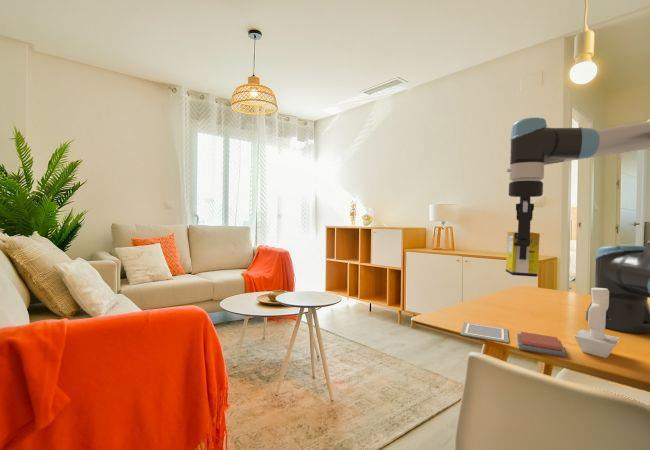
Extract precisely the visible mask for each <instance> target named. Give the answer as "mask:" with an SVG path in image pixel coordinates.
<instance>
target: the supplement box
mask: <svg viewBox="0 0 650 450" xmlns="http://www.w3.org/2000/svg"><path fill="white" fill-rule="evenodd" d="M540 238H541V234H540V233H538V232H537V233H536V232H531V231H530V245H529V247H530V248H529V270H528V273H520V272H516V254H517V246H514V243H517V240H518V231H507V236H506V256H505V257H506V260H505V261H506V262H505V263H506V265H505V272H507V273H508V274H509V275H512V276H520V277H532V278H533V277H534V278H537V277H538V275H539V274H538V273H539V256H540V255H539V254H540Z"/></svg>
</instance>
